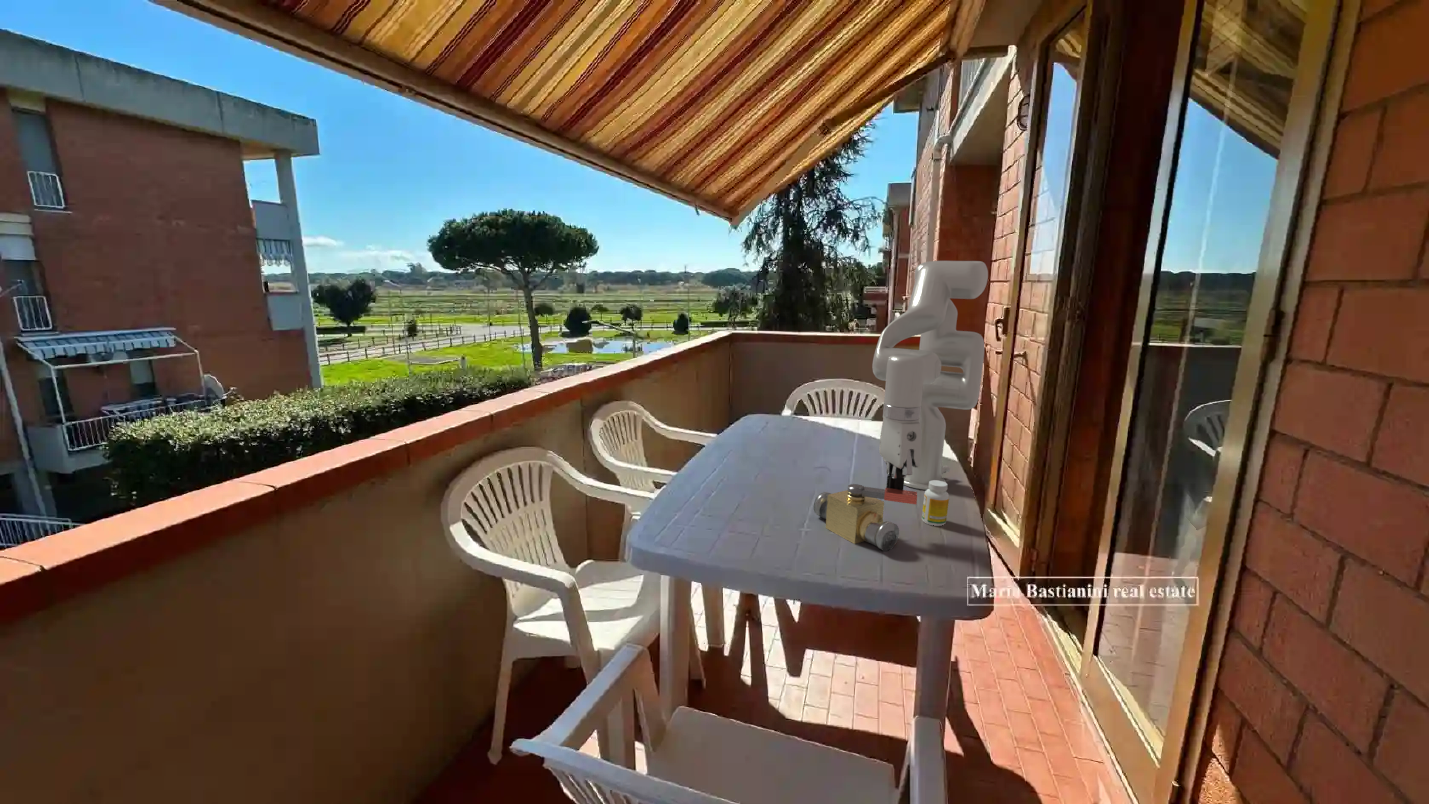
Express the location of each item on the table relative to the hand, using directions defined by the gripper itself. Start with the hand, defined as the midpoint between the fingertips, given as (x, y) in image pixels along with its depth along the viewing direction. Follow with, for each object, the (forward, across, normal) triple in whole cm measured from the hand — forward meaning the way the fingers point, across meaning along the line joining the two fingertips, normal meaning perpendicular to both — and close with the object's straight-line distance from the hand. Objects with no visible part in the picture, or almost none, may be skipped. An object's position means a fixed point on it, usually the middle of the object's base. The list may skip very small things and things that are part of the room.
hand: (894, 493), depth 124 cm
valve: (+9, +1, +9) cm, 13 cm away
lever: (0, -2, +4) cm, 4 cm away
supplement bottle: (+10, +3, -13) cm, 16 cm away
